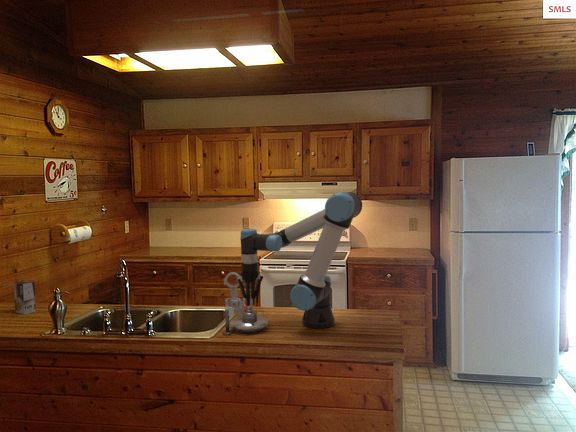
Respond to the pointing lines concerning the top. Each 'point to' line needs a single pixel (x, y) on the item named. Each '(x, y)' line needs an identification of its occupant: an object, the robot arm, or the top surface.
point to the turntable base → (249, 331)
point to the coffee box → (24, 297)
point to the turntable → (240, 325)
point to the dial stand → (228, 312)
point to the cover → (249, 316)
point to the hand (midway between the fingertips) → (250, 311)
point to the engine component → (234, 295)
